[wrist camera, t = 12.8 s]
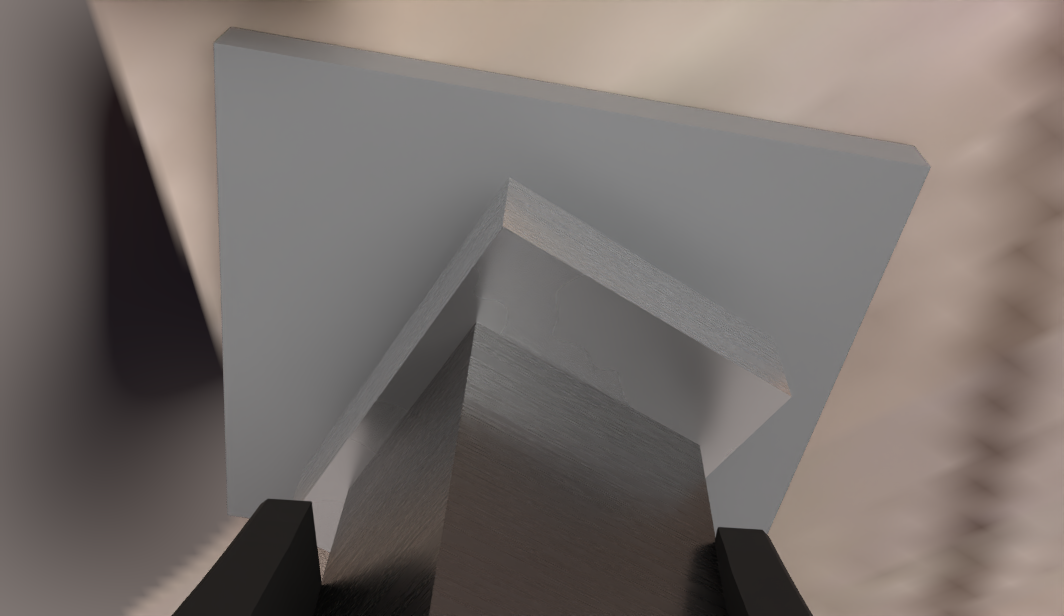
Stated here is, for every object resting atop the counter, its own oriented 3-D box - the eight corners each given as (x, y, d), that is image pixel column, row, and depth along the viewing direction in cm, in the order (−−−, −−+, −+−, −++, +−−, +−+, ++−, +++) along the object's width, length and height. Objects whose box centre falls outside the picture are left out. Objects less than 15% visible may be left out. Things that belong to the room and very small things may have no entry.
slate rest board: (914, 146, 15) (930, 166, 14) (737, 560, 20) (743, 589, 20) (230, 26, 14) (213, 42, 13) (239, 487, 20) (227, 515, 19)
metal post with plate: (773, 337, 15) (940, 869, 8) (533, 576, 18) (509, 1093, 11) (509, 176, 13) (443, 656, 7) (303, 468, 17) (119, 981, 10)
